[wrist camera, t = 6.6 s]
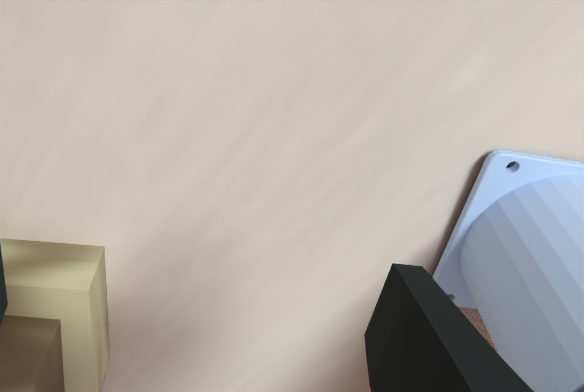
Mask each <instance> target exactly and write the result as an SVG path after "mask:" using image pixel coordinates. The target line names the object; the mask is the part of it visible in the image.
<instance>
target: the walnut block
mask: <svg viewBox="0 0 584 392" xmlns="http://www.w3.org/2000/svg"><path fill="white" fill-rule="evenodd" d="M0 392H65V389H64V372H63V355H62V338H61V322H60V320H58V319H46V318H35V317H24V316H12V315H4V317H3V320H2V322H1V325H0Z"/></svg>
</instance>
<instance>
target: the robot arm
mask: <svg viewBox="0 0 584 392" xmlns="http://www.w3.org/2000/svg"><path fill="white" fill-rule="evenodd" d="M514 161H515V164H514V165H513V166H512V167H510V168H506V166H507V165H508V164H509V163H511V162H514ZM448 294H451V295H449V296H447V295H448ZM7 305H8V301H7V293H6V285H5V277H4V269H3V261H2V253H1V245H0V325H1V322H2V320H3V317H4V314H5V311H6V308H7ZM458 307H464V308H473V309H478V312H479V314H480V316H481V318H482V320H483V323H484V325H485V327H486V329H487V331H488V333H489V336H490V338H491V340H492V342H493V344H494V347H495V349H496V351H497V352H496V351H495V350H494V349H493V348H492V346H491V345H490V344H489V343H488V342H487V341H486V340H485V339H484V337H483V336H482V335H481V334H480V333H479V332H478V331H477V329H476V328H475V327H474V326H473V325H472V324H471V323H470V321H469V320H468V319H467V318H466V317H465V316H464V314H463V313H462V312H461V311H460V310H459V308H458ZM364 336H365V346H366V357H367V366H368V375H369V383H370V388H371V392H584V162H578V161H572V160H565V159H559V158H553V157H546V156H540V155H533V154H527V153H520V152H514V151H507V150H496V151H493V152H492V153H490V154H489V155H488V156H487V158H486V159H485V161H484V163H483V166H482V168H481V170H480V172H479V175H478V177H477V179H476V181H475V183H474V186H473V188H472V190H471V192H470V195H469V197H468V199H467V201H466V203H465V206H464V208H463V210H462V212H461V215H460V217H459V219H458V221H457V224H456V226H455V228H454V230H453V232H452V235H451V237H450V239H449V241H448V244H447V246H446V248H445V250H444V252H443V255H442V257H441V259H440V261H439V264H438V266H437V268H436V270H435V272H434V275H433V277H431V276H430V275H429V273H428V272H427V271H426V270H425V269H424V268H423V267H421V266H412V265H403V264H394V263H393V264H392V266H391V269H390V271H389V274H388V276H387V279H386V281H385V284H384V287H383V289H382V292H381V294H380V297H379V299H378V302H377V304H376V307H375V309H374V312H373V315H372V317H371V320H370V322H369V325H368V327H367V330H366V332H365V335H364Z"/></svg>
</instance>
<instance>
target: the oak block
mask: <svg viewBox="0 0 584 392" xmlns="http://www.w3.org/2000/svg"><path fill="white" fill-rule="evenodd" d="M0 245H1V253H2V261H3V269H4V277H5V285H6V293H7V301H8V305H7V308H6V311H5V314H4V315H12V316H24V317H35V318H46V319H58V320H60V322H61V338H62V355H63V372H64V389H65V392H101V389H102V385H103V381H104V378H105V374H106V370H107V367H108V363H109V359H110V349H109V329H108V309H107V290H106V270H105V250H104V247H103V246H90V245H77V244H65V243H52V242H39V241H26V240H13V239H0Z"/></svg>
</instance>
